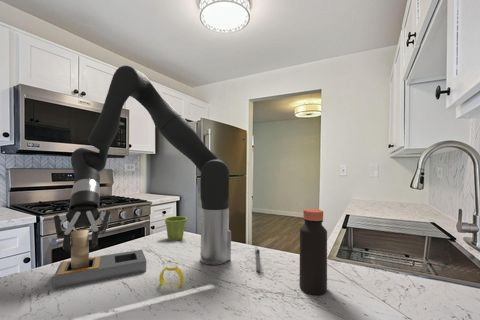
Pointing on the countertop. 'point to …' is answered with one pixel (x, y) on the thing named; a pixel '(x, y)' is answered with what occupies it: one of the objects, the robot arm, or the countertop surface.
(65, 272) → the base plate
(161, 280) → the watch
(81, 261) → the peg
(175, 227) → the plant pot
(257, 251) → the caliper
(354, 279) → the countertop surface
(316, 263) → the bottle
